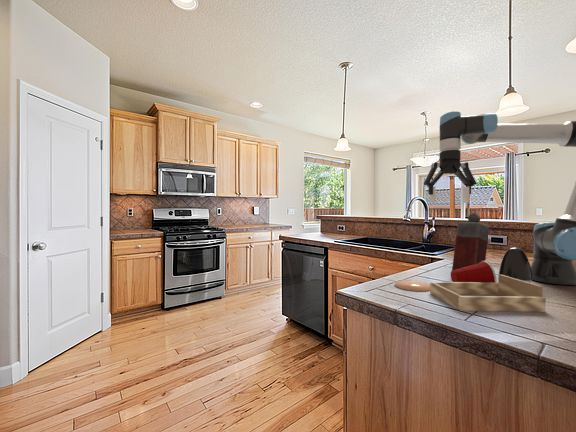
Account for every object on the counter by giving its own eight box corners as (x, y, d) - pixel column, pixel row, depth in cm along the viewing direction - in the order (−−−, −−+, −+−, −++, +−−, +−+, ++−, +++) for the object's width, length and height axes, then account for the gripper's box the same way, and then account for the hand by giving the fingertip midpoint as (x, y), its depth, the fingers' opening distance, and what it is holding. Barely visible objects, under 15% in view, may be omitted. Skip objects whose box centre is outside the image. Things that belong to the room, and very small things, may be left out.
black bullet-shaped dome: (526, 284, 112) (527, 246, 111) (536, 291, 102) (537, 249, 102) (495, 282, 116) (495, 245, 116) (502, 288, 106) (502, 248, 106)
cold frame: (499, 293, 98) (499, 274, 98) (545, 311, 80) (545, 287, 80) (430, 293, 99) (430, 273, 99) (460, 310, 81) (460, 286, 81)
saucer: (422, 282, 114) (422, 280, 114) (439, 291, 101) (439, 288, 101) (390, 282, 114) (390, 280, 114) (403, 291, 101) (403, 288, 101)
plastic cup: (454, 297, 107) (489, 294, 105) (463, 287, 98) (500, 284, 96) (445, 270, 113) (477, 267, 111) (452, 259, 104) (487, 255, 102)
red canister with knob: (485, 280, 120) (492, 217, 123) (473, 278, 114) (481, 211, 118) (463, 277, 128) (470, 217, 131) (451, 274, 122) (458, 211, 125)
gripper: (474, 153, 119) (474, 203, 119) (415, 153, 119) (415, 202, 119) (486, 148, 111) (486, 202, 111) (423, 148, 112) (423, 202, 112)
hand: (449, 202), depth 115 cm, fingers open, 13 cm apart
